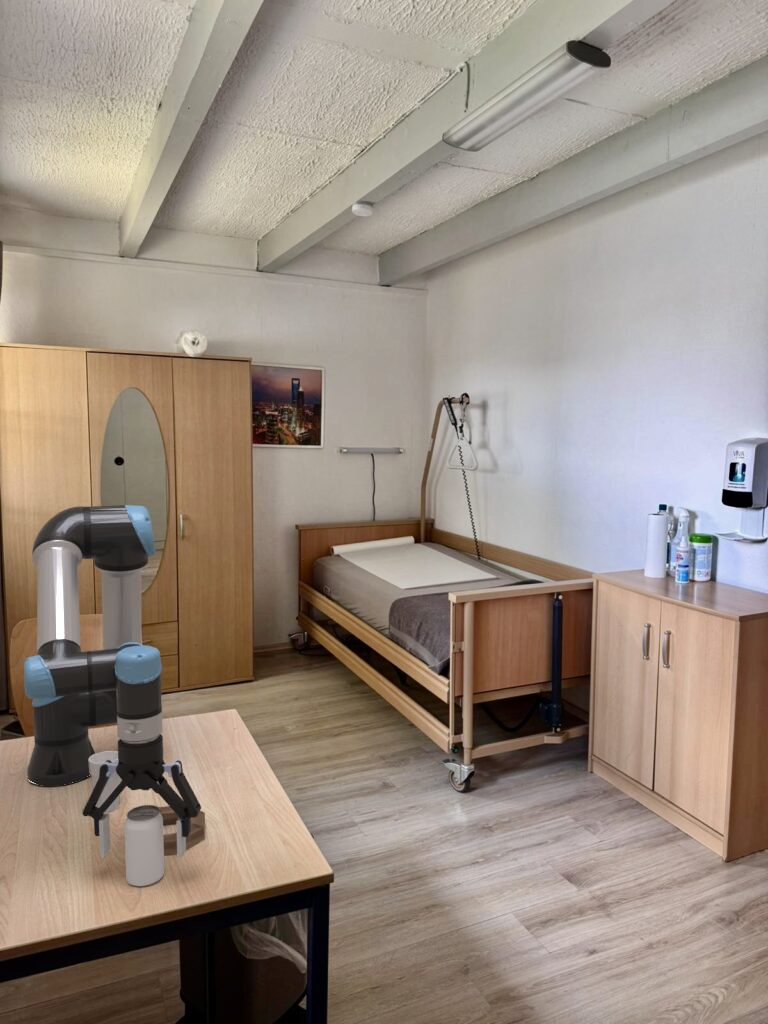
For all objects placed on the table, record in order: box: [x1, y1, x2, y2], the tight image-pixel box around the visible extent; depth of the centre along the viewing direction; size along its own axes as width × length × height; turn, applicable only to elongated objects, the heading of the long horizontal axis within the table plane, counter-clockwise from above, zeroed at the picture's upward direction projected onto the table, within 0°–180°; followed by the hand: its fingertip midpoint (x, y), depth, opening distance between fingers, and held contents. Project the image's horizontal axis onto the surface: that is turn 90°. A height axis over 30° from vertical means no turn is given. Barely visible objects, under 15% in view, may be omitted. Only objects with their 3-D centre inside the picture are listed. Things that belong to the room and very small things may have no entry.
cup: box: [88, 750, 121, 814], centre depth 156 cm, size 7×7×11 cm
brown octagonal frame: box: [158, 805, 206, 856], centre depth 145 cm, size 14×14×2 cm
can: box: [124, 804, 165, 888], centre depth 130 cm, size 6×6×12 cm
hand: (143, 853), depth 130 cm, fingers open, 13 cm apart
